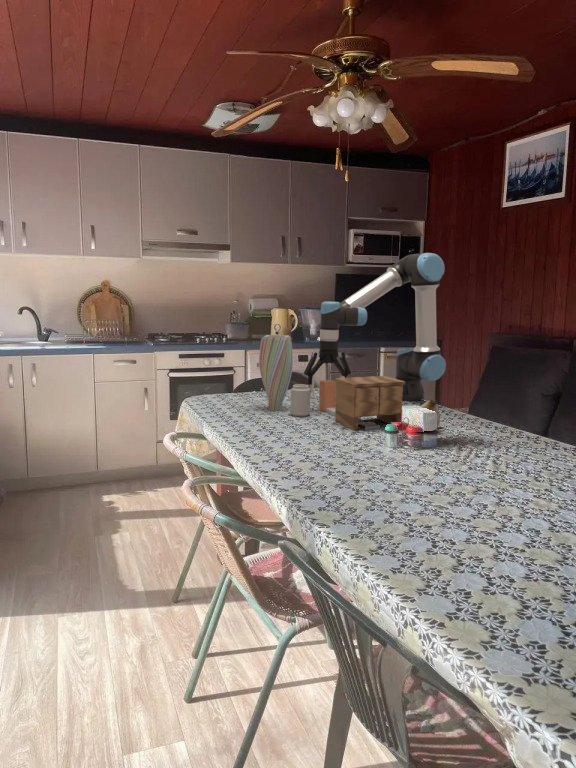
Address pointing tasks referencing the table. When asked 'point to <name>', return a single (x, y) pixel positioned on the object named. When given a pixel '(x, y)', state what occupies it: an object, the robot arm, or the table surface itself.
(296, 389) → the grey jar
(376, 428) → the token
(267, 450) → the table surface
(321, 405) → the orange upright piece
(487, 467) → the table surface
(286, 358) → the vase
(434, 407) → the fruit
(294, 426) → the table surface
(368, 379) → the cabinet
